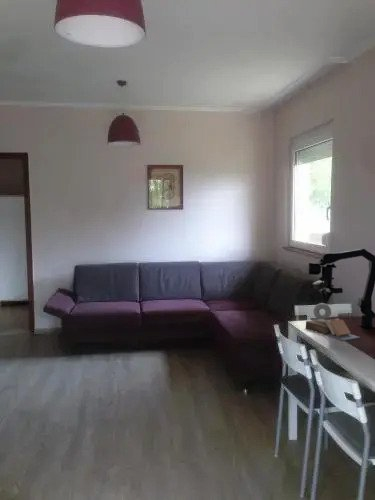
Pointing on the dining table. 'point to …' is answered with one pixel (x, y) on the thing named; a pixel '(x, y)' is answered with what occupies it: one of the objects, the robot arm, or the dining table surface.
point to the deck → (318, 326)
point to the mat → (343, 337)
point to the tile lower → (330, 326)
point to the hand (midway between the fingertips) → (325, 303)
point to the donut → (325, 307)
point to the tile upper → (339, 328)
